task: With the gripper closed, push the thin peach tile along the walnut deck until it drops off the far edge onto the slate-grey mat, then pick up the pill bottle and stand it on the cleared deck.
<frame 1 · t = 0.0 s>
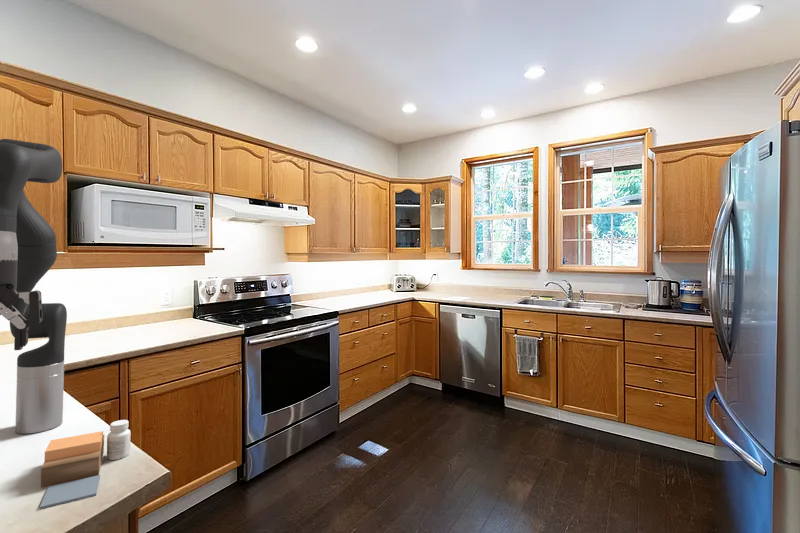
deck: (75, 468, 82), on the table
thin peach tile: (75, 450, 82), point 4 cm above the table, touching deck
mat: (72, 491, 74), on the table
pill bottle: (118, 456, 88), on the table
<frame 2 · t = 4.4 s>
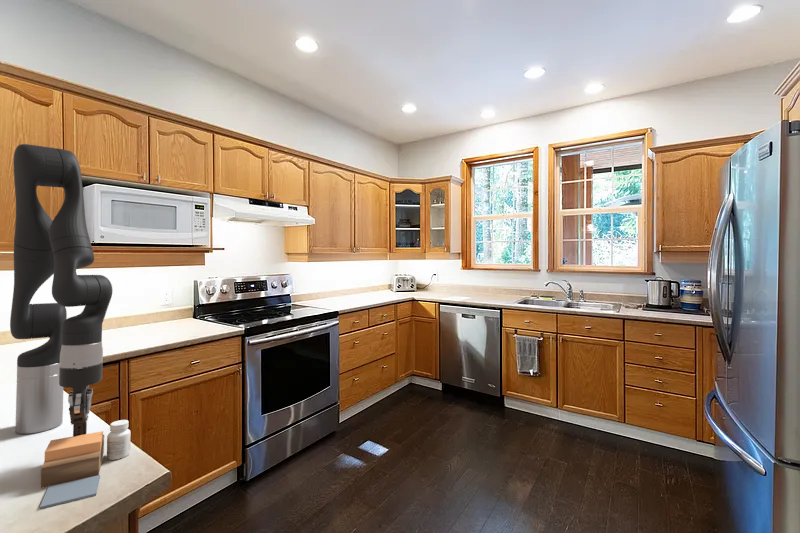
hand: (79, 438, 86), 5 cm above the table, tool pointing down, fingers closed
thin peach tile: (75, 450, 82), point 4 cm above the table, touching gripper
everything else where it was.
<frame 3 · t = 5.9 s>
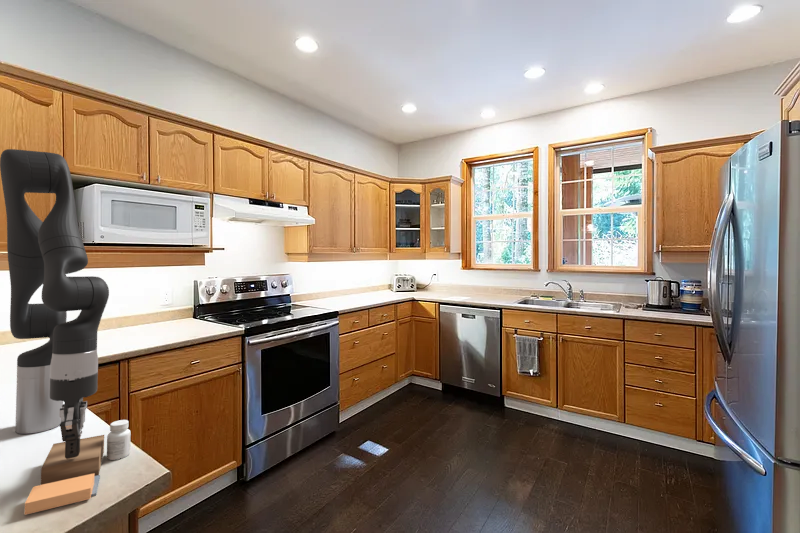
hand: (72, 456, 78), 5 cm above the table, tool pointing down, fingers closed
thin peach tile: (62, 487, 71), point 2 cm above the table, tilted 180°, touching mat
everything else where it was.
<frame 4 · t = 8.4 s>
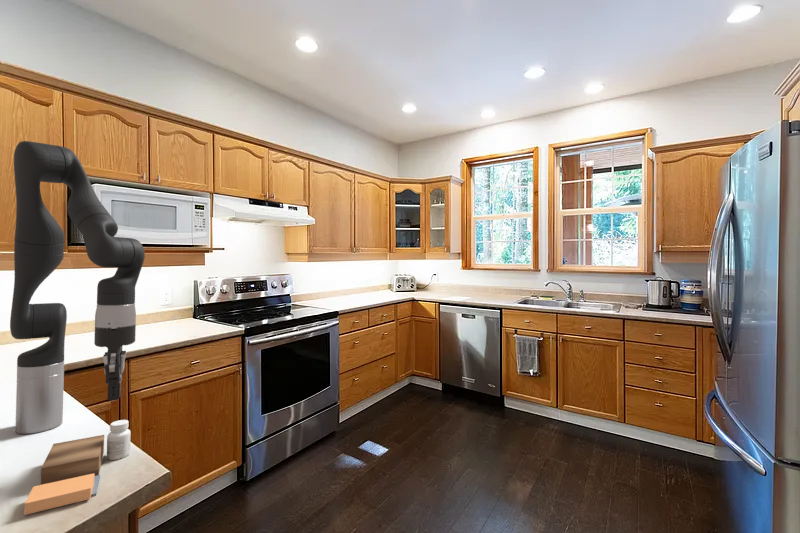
hand: (113, 399, 87), 14 cm above the table, tool pointing down, fingers closed
nothing on the table moved.
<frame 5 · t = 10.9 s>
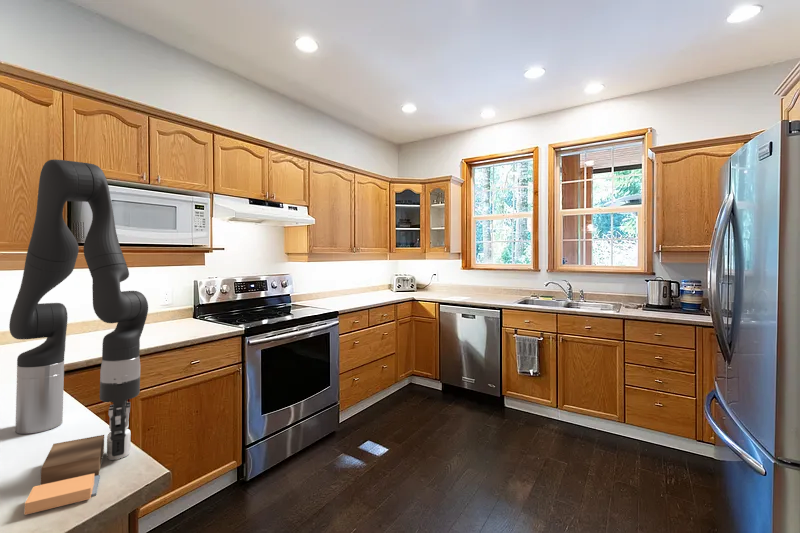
hand: (118, 449, 88), 1 cm above the table, tool pointing down, fingers closed on pill bottle, 4 cm apart
pill bottle: (118, 456, 88), on the table, touching gripper
everything else where it was.
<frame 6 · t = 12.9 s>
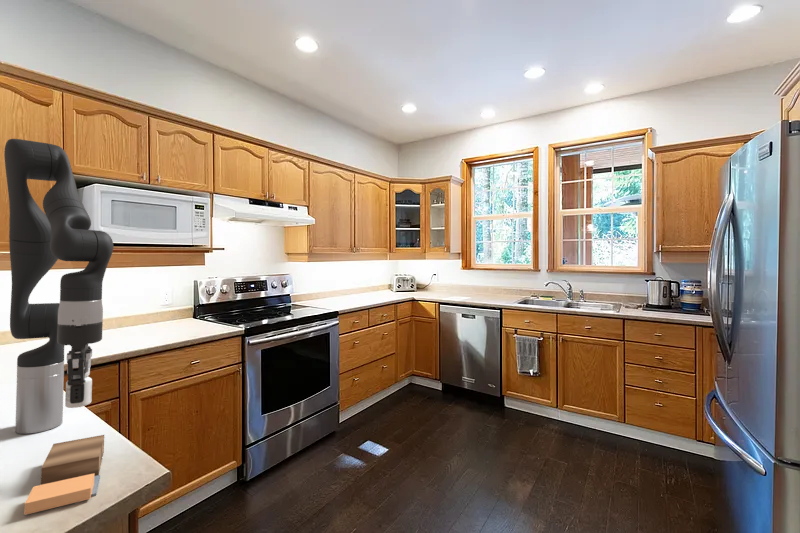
hand: (78, 398, 83), 15 cm above the table, tool pointing down, fingers closed on pill bottle, 4 cm apart
pill bottle: (78, 405, 83), point 14 cm above the table, touching gripper
everything else where it was.
when the fingers open (7 cm above the table, at t = 14.8 s): pill bottle drops 1 cm, resting on deck.
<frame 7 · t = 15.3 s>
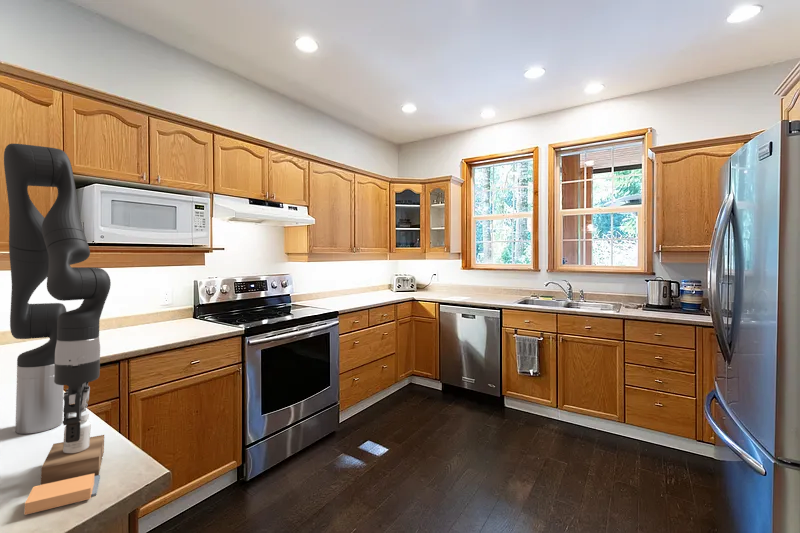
hand: (76, 433, 82), 8 cm above the table, tool pointing down, fingers open, 8 cm apart
pill bottle: (76, 450, 82), point 4 cm above the table, touching deck
everything else where it was.
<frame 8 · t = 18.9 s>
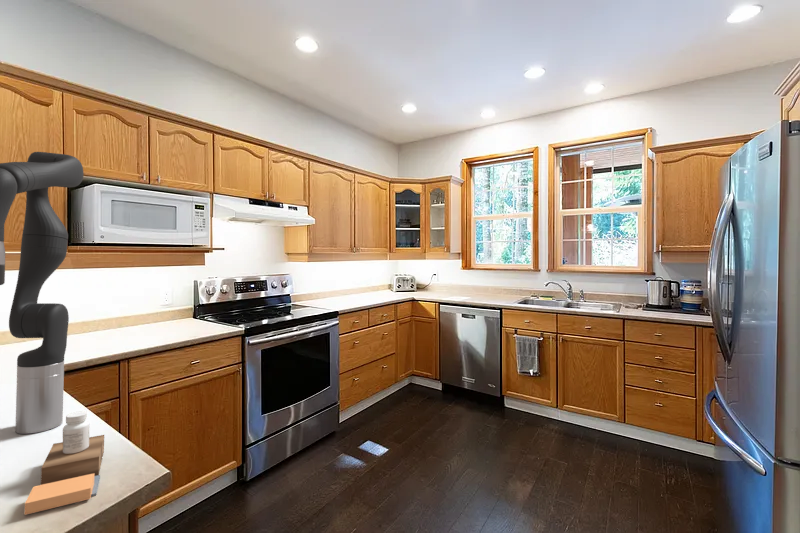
nothing on the table moved.
at the end: thin peach tile inside the target area on the mat (2.6 cm from its centre), point 2.4 cm above the mat's base; pill bottle inside the target area on the deck (0.1 cm from its centre), point 3.8 cm above the deck's base; pill bottle tilted 1° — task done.
